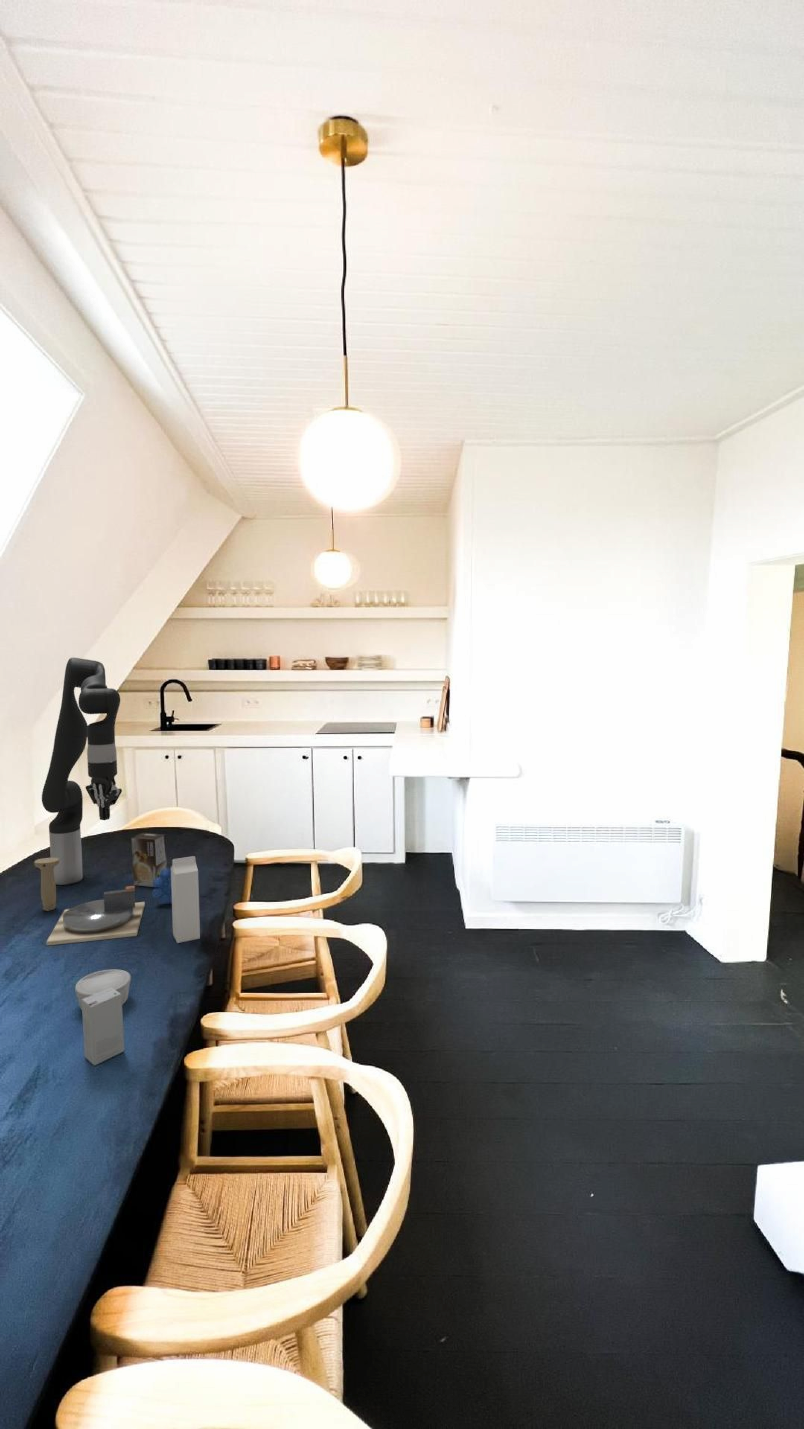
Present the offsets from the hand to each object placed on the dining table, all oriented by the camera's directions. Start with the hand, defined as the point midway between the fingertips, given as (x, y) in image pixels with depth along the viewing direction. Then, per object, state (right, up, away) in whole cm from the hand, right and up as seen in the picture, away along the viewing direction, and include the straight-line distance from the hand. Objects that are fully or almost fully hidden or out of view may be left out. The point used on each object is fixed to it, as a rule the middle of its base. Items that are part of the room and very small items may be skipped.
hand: (104, 819), depth 187 cm
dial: (-1, -28, -1) cm, 28 cm away
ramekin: (+19, -34, -42) cm, 57 cm away
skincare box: (+27, -36, -61) cm, 75 cm away
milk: (+26, -30, -9) cm, 41 cm away
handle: (-20, -28, +9) cm, 36 cm away
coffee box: (+1, -26, +30) cm, 40 cm away
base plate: (-1, -29, -1) cm, 29 cm away
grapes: (+14, -28, +14) cm, 34 cm away
